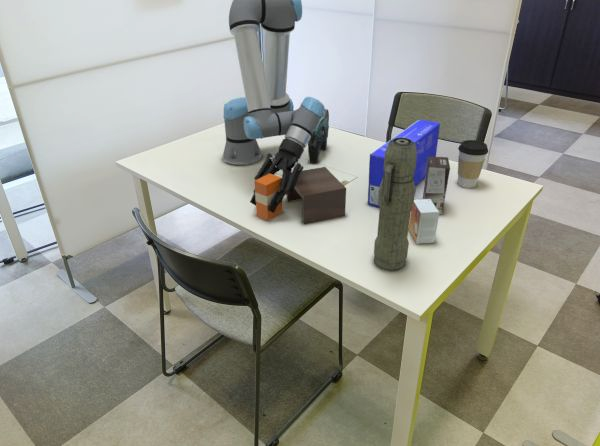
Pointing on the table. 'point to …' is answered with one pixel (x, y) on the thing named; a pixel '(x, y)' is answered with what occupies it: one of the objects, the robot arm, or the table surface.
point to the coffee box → (436, 181)
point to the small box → (423, 221)
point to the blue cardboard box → (426, 146)
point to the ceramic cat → (319, 138)
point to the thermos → (395, 204)
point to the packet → (267, 195)
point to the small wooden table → (319, 195)
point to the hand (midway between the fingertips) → (261, 207)
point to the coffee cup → (470, 162)
